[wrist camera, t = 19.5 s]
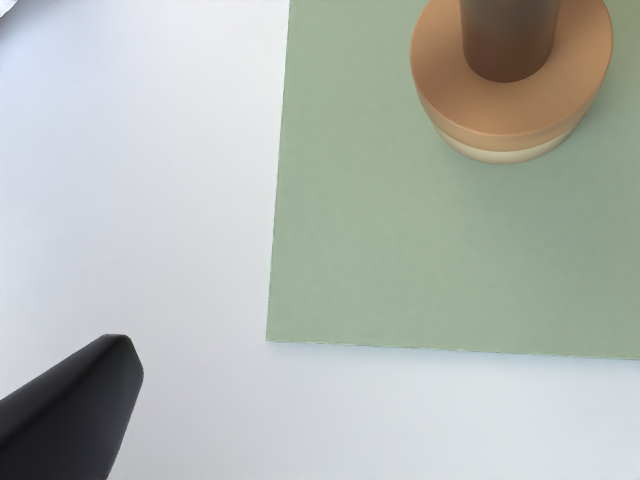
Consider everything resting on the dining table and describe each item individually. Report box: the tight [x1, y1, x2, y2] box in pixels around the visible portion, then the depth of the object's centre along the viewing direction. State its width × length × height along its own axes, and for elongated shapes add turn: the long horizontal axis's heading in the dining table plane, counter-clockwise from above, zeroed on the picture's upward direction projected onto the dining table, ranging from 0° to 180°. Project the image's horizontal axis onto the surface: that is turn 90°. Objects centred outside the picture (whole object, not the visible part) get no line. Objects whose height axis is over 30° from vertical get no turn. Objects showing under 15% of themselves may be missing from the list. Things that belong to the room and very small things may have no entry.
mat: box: [266, 0, 640, 360], centre depth 24 cm, size 22×16×1 cm
